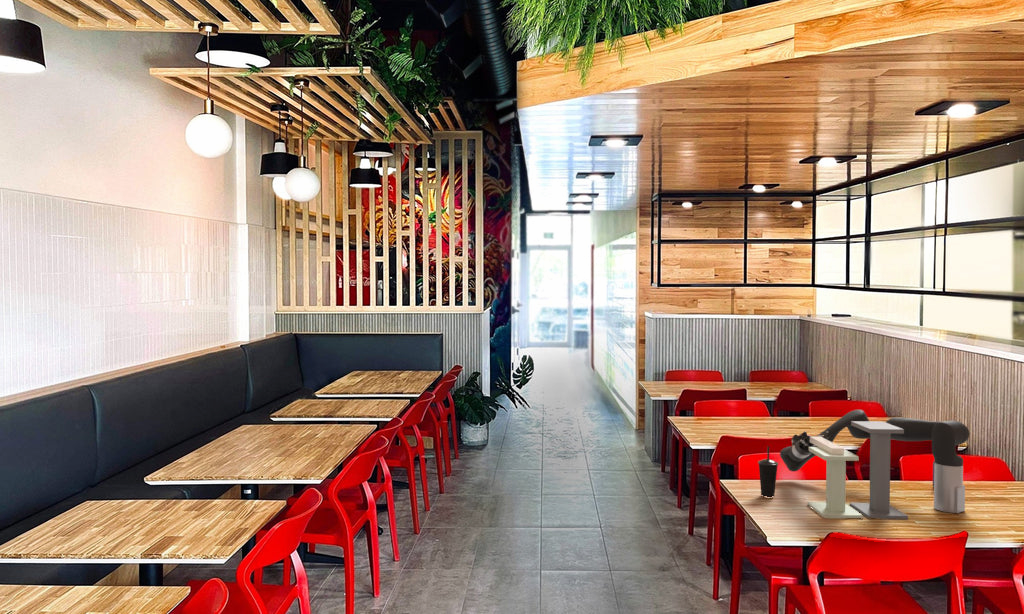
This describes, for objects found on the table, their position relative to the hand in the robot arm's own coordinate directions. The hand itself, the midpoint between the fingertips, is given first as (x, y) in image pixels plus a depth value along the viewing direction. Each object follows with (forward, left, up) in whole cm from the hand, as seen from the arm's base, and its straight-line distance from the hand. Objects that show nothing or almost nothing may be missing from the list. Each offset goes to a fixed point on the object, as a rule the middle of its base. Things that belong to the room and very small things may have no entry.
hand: (817, 434), depth 289 cm
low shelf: (-13, +10, -26) cm, 30 cm away
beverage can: (-22, -57, -26) cm, 66 cm away
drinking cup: (+13, +13, -26) cm, 32 cm away
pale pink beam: (-7, +6, -4) cm, 10 cm away
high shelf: (-22, -3, -26) cm, 34 cm away
